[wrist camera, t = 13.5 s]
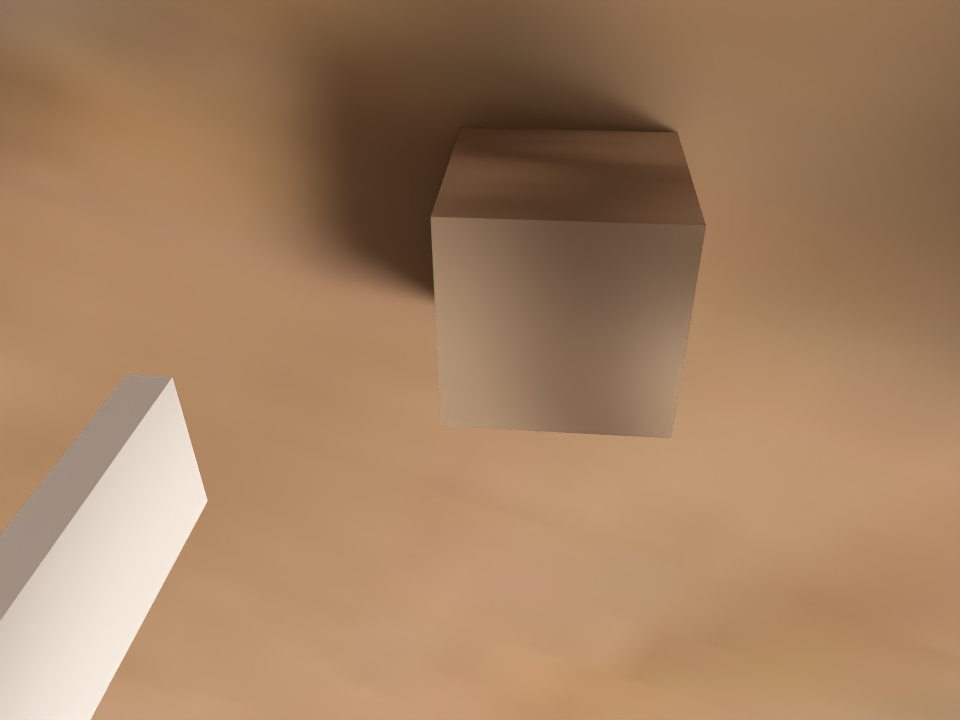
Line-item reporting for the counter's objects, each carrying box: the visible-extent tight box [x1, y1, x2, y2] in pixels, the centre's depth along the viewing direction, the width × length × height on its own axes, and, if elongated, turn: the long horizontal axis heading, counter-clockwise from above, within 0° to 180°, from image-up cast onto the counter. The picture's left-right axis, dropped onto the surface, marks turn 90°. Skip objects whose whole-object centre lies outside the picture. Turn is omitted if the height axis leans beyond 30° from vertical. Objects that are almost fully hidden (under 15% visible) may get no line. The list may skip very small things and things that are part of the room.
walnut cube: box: [431, 127, 706, 438], centre depth 18 cm, size 5×5×5 cm
